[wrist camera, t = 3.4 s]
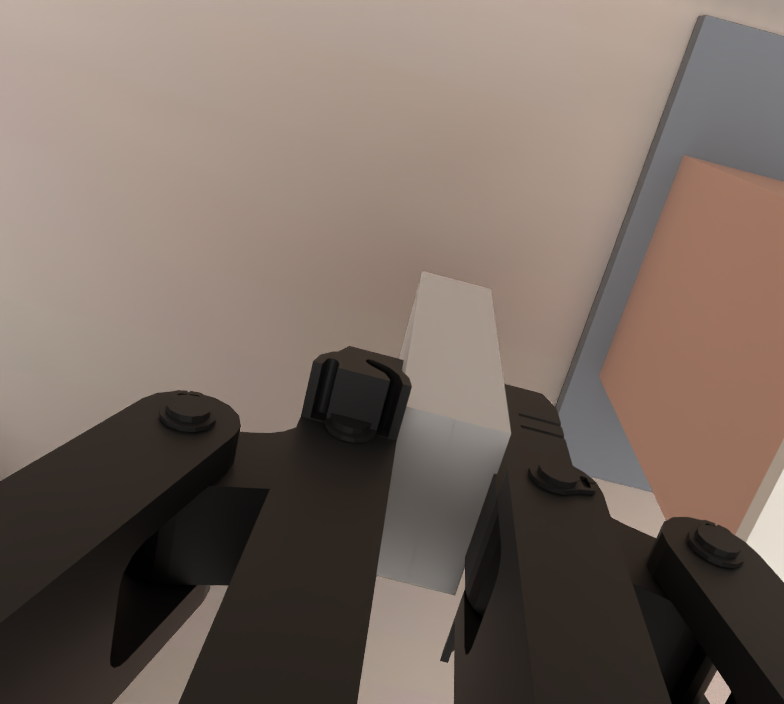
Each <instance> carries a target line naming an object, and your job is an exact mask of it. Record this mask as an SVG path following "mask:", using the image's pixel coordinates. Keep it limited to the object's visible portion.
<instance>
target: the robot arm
mask: <svg viewBox="0 0 784 704" xmlns="http://www.w3.org/2000/svg"><path fill="white" fill-rule="evenodd" d="M240 427H241V425H240V419H239V415H238V414H237V413H236V412H235V411H234V410H233V409H232V408H231V407H230V406H229V405H227V404H225V403H223V402H221V401H220V400H218V399H216V398H213V397H209V396H206V395H203V394H202V393H199V392H193V391H190V392H188V391H180V390H178V391H173V392H163V393H156V394H154V395H151V396H148V397H145V398H143V399H141V400H139V401H137V402H136V403H134V404H132V405H130V406H129V407H127V408H125V409H124V410H122V411H120V412H118V413H117V414H115V415H113V416H112V417H110V418H108V419H106V420H105V421H103V422H101V423H100V424H98V425H96V426H94V427H93V428H91V429H89V430H88V431H86V432H84V433H82V434H81V435H79V436H77V437H76V438H74V439H72V440H70V441H69V442H67V443H65V444H64V445H62V446H60V447H58V448H57V449H55V450H53V451H52V452H50V453H48V454H46V455H45V456H43V457H41V458H40V459H38V460H36V461H34V462H33V463H31V464H29V465H28V466H26V467H24V468H22V469H21V470H19V471H17V472H15V473H14V474H12V475H10V476H9V477H7V478H5V479H3V480H2V481H0V704H112V703H113V702H114V701H115V700H116V699H117V698H118V697H119V695H120V694H121V693H122V692H123V691H124V690H125V689H126V688H127V686H128V685H129V684H130V683H131V682H132V681H133V680H134V679H135V677H136V676H137V675H138V674H139V673H140V672H141V671H142V670H143V669H144V667H145V666H146V665H147V664H148V663H149V662H150V661H151V660H152V658H153V657H154V656H155V655H156V654H157V653H158V652H159V651H160V649H161V648H162V647H163V646H164V645H165V644H166V643H167V642H168V641H169V639H170V638H171V637H172V636H173V635H174V634H175V633H176V632H177V630H178V629H179V628H180V627H181V626H182V625H183V624H184V623H185V621H186V620H187V619H188V618H189V617H190V616H191V615H192V614H193V612H194V611H195V610H196V609H197V608H198V607H199V606H200V605H201V604H202V602H203V601H204V599H205V597H206V595H207V594H208V592H209V590H210V585H229V586H228V589H227V591H226V593H225V596H224V598H223V600H222V603H221V605H220V607H219V610H218V612H217V614H216V617H215V619H214V621H213V624H212V626H211V628H210V631H209V633H208V636H207V638H206V640H205V643H204V645H203V647H202V650H201V652H200V654H199V657H198V659H197V661H196V664H195V666H194V668H193V671H192V673H191V675H190V678H189V680H188V682H187V685H186V687H185V689H184V692H183V694H182V697H181V699H180V701H179V704H357V699H358V693H359V686H360V679H361V673H362V666H363V660H364V653H365V647H366V640H367V633H368V627H369V620H370V614H371V607H372V600H373V594H374V587H375V581H376V575H377V576H381V577H385V578H389V579H392V580H396V581H400V582H404V583H408V584H412V585H416V586H420V587H424V588H428V589H432V590H436V591H440V592H443V593H447V594H451V595H455V594H456V591H457V588H458V585H459V582H460V579H461V577H462V574H463V571H464V568H465V590H464V593H463V596H462V599H461V602H460V604H459V607H458V610H457V613H456V616H455V619H454V621H453V624H452V627H451V630H450V633H449V636H448V638H447V641H446V644H445V647H444V650H443V653H442V656H441V659H440V661H443V662H447V663H448V661H449V658H450V655H451V653H452V651H454V650H455V652H454V704H710V703H709V701H708V700H707V698H706V697H705V695H704V693H705V692H706V690H707V688H708V686H709V684H710V682H711V681H712V679H713V677H714V675H715V673H716V671H717V670H718V672H719V673H720V675H721V676H722V678H723V679H724V681H725V682H726V684H727V685H728V686H729V688H730V690H731V694H730V696H729V697H728V699H727V701H726V703H725V704H784V582H783V581H782V580H781V579H780V577H779V576H778V575H777V574H776V573H775V572H774V571H773V570H772V568H771V567H770V566H769V565H768V564H767V563H766V562H765V561H764V559H763V558H762V557H761V556H760V555H759V554H758V553H757V552H756V551H755V550H754V549H752V548H751V547H750V546H749V545H748V544H747V543H746V542H745V541H743V540H742V539H740V538H738V537H737V536H735V535H734V534H732V533H731V531H729V530H728V529H727V528H725V527H722V526H720V525H717V526H716V525H715V523H713V522H710V521H707V520H699V519H695V518H691V517H672V518H670V519H669V520H667V521H665V522H664V523H663V525H662V527H661V529H660V532H659V534H658V536H657V538H654V537H652V536H650V535H647V534H645V533H643V532H640V531H638V530H636V529H634V528H631V527H629V526H627V525H625V524H623V523H621V522H619V521H617V520H615V519H613V518H611V517H610V514H609V511H608V507H607V504H606V501H605V498H604V495H603V493H602V491H601V490H600V488H599V486H598V485H597V483H596V482H595V481H594V480H593V479H592V478H590V477H589V476H588V475H587V474H586V473H584V472H583V471H581V470H579V469H578V468H576V467H574V466H573V465H572V461H571V458H570V454H569V450H568V447H567V443H566V440H565V439H564V433H563V429H562V427H561V422H560V418H559V415H558V411H557V409H556V408H555V407H554V406H553V405H552V404H551V403H550V402H549V400H548V399H547V398H546V397H545V396H544V395H543V394H541V393H537V392H533V391H529V390H525V389H522V388H518V387H514V386H510V385H506V384H504V379H503V372H502V365H501V358H500V351H499V344H498V337H497V330H496V322H495V315H494V308H493V301H492V294H491V289H490V288H486V287H482V286H478V285H475V284H471V283H467V282H463V281H459V280H455V279H452V278H448V277H444V276H440V275H436V274H432V273H429V272H425V271H422V274H421V277H420V281H419V285H418V288H417V292H416V296H415V299H414V303H413V307H412V311H411V314H410V318H409V322H408V325H407V329H406V333H405V336H404V340H403V344H402V348H401V351H400V355H399V359H397V358H393V357H390V356H386V355H382V354H378V353H374V352H370V351H366V350H363V349H359V348H355V347H351V346H349V347H347V348H345V349H343V350H341V351H339V352H330V353H326V354H322V355H320V356H319V357H317V358H316V359H315V360H314V361H313V364H312V369H311V373H310V378H309V382H308V387H307V391H306V396H305V400H304V405H303V409H302V414H301V417H300V420H299V422H298V424H297V427H296V428H293V429H290V430H287V431H284V432H276V433H250V432H240Z"/></svg>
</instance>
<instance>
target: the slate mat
mask: <svg viewBox="0 0 784 704" xmlns="http://www.w3.org/2000/svg"><path fill="white" fill-rule="evenodd" d="M683 155H685V156H689V157H693V158H697V159H701V160H704V161H708V162H712V163H716V164H719V165H723V166H727V167H731V168H735V169H738V170H742V171H746V172H750V173H753V174H757V175H761V176H765V177H769V178H772V179H776V180H780V181H784V36H782V35H778V34H774V33H770V32H767V31H763V30H759V29H756V28H752V27H748V26H744V25H741V24H737V23H733V22H730V21H726V20H722V19H718V18H715V17H711V16H707V15H704V16H699V17H698V19H697V22H696V25H695V28H694V30H693V33H692V36H691V39H690V41H689V44H688V47H687V50H686V52H685V55H684V58H683V60H682V63H681V66H680V69H679V71H678V74H677V77H676V80H675V82H674V85H673V88H672V90H671V93H670V96H669V99H668V101H667V104H666V107H665V110H664V112H663V115H662V118H661V121H660V123H659V126H658V129H657V131H656V134H655V137H654V140H653V142H652V145H651V148H650V151H649V153H648V156H647V159H646V162H645V164H644V167H643V170H642V172H641V175H640V178H639V181H638V183H637V186H636V189H635V192H634V194H633V197H632V200H631V202H630V205H629V208H628V211H627V213H626V216H625V219H624V222H623V224H622V227H621V230H620V233H619V235H618V238H617V241H616V243H615V246H614V249H613V252H612V254H611V257H610V260H609V263H608V265H607V268H606V271H605V274H604V276H603V279H602V282H601V284H600V287H599V290H598V293H597V295H596V298H595V301H594V304H593V306H592V309H591V312H590V315H589V317H588V320H587V323H586V325H585V328H584V331H583V334H582V336H581V339H580V342H579V345H578V347H577V350H576V353H575V355H574V358H573V361H572V364H571V366H570V369H569V372H568V375H567V377H566V380H565V383H564V386H563V388H562V391H561V394H560V396H559V399H558V402H557V405H556V407H555V408H556V409H557V411H558V415H559V418H560V422H561V427H562V429H563V433H564V439H565V440H566V443H567V447H568V450H569V454H570V458H571V461H572V465H573V466H574V467H576V468H578V469H579V470H581V471H583V472H584V473H586V474H587V475H588V476H590V477H594V478H598V479H602V480H606V481H610V482H614V483H618V484H622V485H626V486H630V487H634V488H638V489H641V490H645V491H649V492H653V491H652V489H651V487H650V485H649V483H648V481H647V478H646V476H645V474H644V472H643V470H642V468H641V466H640V463H639V461H638V459H637V457H636V455H635V453H634V451H633V448H632V446H631V444H630V442H629V440H628V438H627V436H626V433H625V431H624V429H623V427H622V425H621V423H620V421H619V419H618V416H617V414H616V412H615V410H614V408H613V406H612V404H611V401H610V399H609V397H608V395H607V393H606V391H605V389H604V386H603V384H602V382H601V380H600V378H599V374H600V371H601V369H602V366H603V364H604V361H605V358H606V356H607V353H608V351H609V348H610V345H611V343H612V340H613V337H614V335H615V332H616V330H617V327H618V324H619V322H620V319H621V317H622V314H623V311H624V309H625V306H626V304H627V301H628V298H629V296H630V293H631V291H632V288H633V285H634V283H635V280H636V278H637V275H638V272H639V270H640V267H641V265H642V262H643V259H644V257H645V254H646V251H647V249H648V246H649V244H650V241H651V238H652V236H653V233H654V231H655V228H656V225H657V223H658V220H659V218H660V215H661V212H662V210H663V207H664V205H665V202H666V199H667V197H668V194H669V192H670V189H671V186H672V184H673V181H674V178H675V176H676V173H677V171H678V168H679V165H680V163H681V160H682V158H683Z"/></svg>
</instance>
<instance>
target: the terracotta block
mask: <svg viewBox="0 0 784 704" xmlns="http://www.w3.org/2000/svg"><path fill="white" fill-rule="evenodd" d="M599 378H600V380H601V382H602V384H603V386H604V389H605V391H606V393H607V395H608V397H609V399H610V401H611V404H612V406H613V408H614V410H615V412H616V414H617V416H618V419H619V421H620V423H621V425H622V427H623V429H624V431H625V433H626V436H627V438H628V440H629V442H630V444H631V446H632V448H633V451H634V453H635V455H636V457H637V459H638V461H639V463H640V466H641V468H642V470H643V472H644V474H645V476H646V478H647V481H648V483H649V485H650V487H651V489H652V491H653V493H654V495H655V498H656V500H657V502H658V504H659V506H660V508H661V510H662V513H663V515H664V517H665V519H666V521H667V520H669V519H670V518H672V517H691V518H695V519H699V520H707V521H710V522H713V523H715V525H716V526H717V525H720V526H722V527H725V528H727V529H728V530H729V531H731V533H732V534H734V535H735V536H737V537H738V538H740V539H742V540H743V541H745V542H746V543H747V544H748V545H749V546H750V547H751V548H752V549H754V550H755V551H756V552H757V553H758V554H759V555H760V556H761V557H762V558H763V559H764V561H765V562H766V563H767V564H768V565H769V566H770V567H771V568H772V570H773V571H774V572H775V573H776V574H777V575H778V576H779V577H780V579H781V580H782V581H783V582H784V181H780V180H776V179H772V178H769V177H765V176H761V175H757V174H753V173H750V172H746V171H742V170H738V169H735V168H731V167H727V166H723V165H719V164H716V163H712V162H708V161H704V160H701V159H697V158H693V157H689V156H685V155H683V158H682V160H681V163H680V165H679V168H678V171H677V173H676V176H675V178H674V181H673V184H672V186H671V189H670V192H669V194H668V197H667V199H666V202H665V205H664V207H663V210H662V212H661V215H660V218H659V220H658V223H657V225H656V228H655V231H654V233H653V236H652V238H651V241H650V244H649V246H648V249H647V251H646V254H645V257H644V259H643V262H642V265H641V267H640V270H639V272H638V275H637V278H636V280H635V283H634V285H633V288H632V291H631V293H630V296H629V298H628V301H627V304H626V306H625V309H624V311H623V314H622V317H621V319H620V322H619V324H618V327H617V330H616V332H615V335H614V337H613V340H612V343H611V345H610V348H609V351H608V353H607V356H606V358H605V361H604V364H603V366H602V369H601V371H600V374H599Z"/></svg>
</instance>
